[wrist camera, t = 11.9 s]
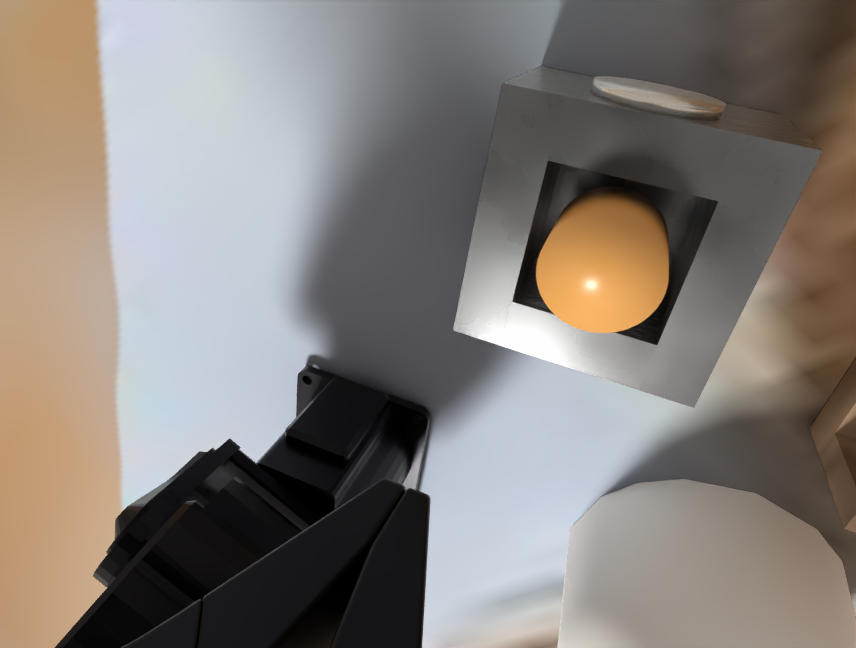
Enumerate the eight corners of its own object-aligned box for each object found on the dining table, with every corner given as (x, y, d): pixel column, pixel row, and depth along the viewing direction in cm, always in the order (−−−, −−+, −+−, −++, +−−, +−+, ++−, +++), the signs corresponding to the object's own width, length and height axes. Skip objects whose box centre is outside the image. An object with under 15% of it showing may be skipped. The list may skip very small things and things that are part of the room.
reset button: (647, 280, 17) (642, 348, 14) (551, 253, 18) (523, 312, 15) (684, 184, 16) (689, 234, 12) (577, 159, 17) (553, 199, 13)
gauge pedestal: (688, 324, 20) (694, 407, 16) (494, 268, 21) (453, 330, 17) (788, 103, 16) (830, 136, 12) (542, 55, 18) (505, 69, 13)
